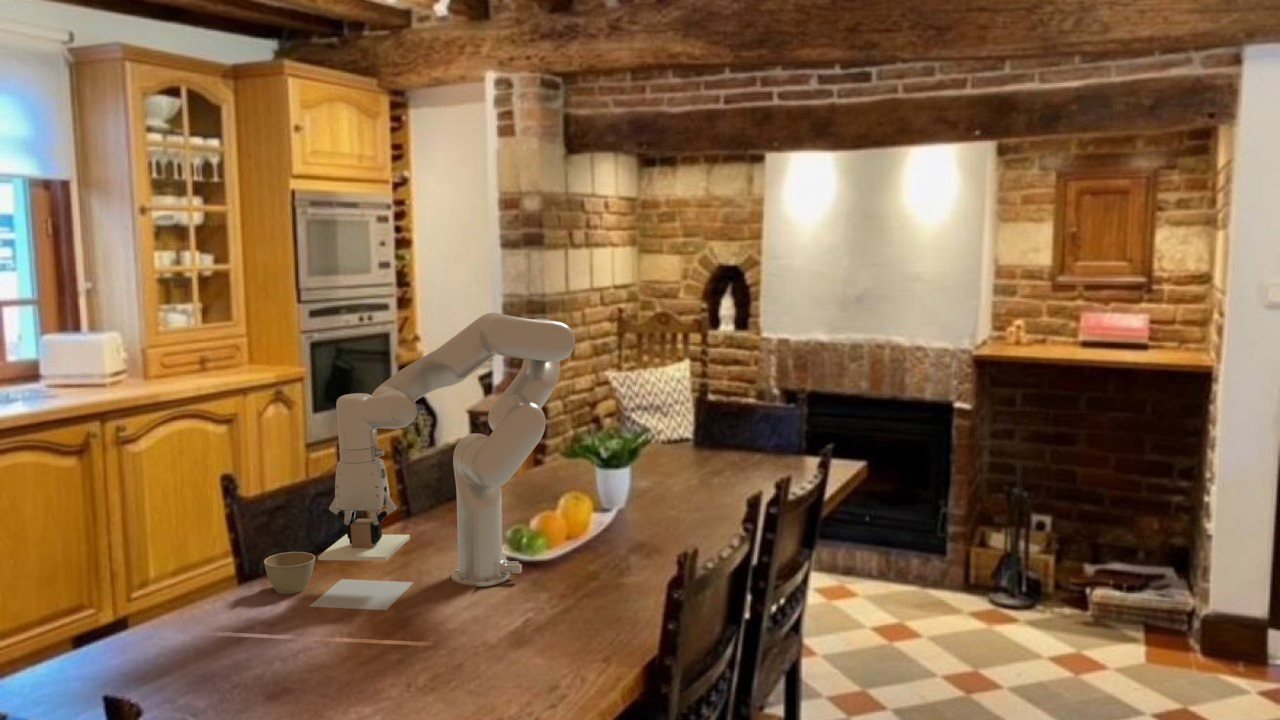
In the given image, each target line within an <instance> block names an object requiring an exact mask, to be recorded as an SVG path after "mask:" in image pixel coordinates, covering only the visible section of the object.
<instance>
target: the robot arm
mask: <svg viewBox="0 0 1280 720" xmlns="http://www.w3.org/2000/svg"><path fill="white" fill-rule="evenodd" d="M575 346H576V337H575V333H574V331H573V330H572V329H571V328H570V327H569V326H568V325H567V324H566V323H563V322H561V321H557V320H552V319H548V318H541V317H540V318H533V319H531V318H525V317H519V316H518V317H517V316H513V315H507V314H505V313H500V312H488V313H485V314H483V315H481V316H479V317H477V318H476V319H475V320H474V321H473V322H471V323H469V324H468V325H467V326H466V327H464V328H463V329H462V330H460V331H459V332H458V333H457V334H456V335H454V336H453V337H451V338H450V339H449V340H447V341H446V342H445V343H443V344H442V345H440V346H439V347H438V348H437V349H435V350H434V351H431V352H429V353H428V354H426V355H424V356H423V357H421V358H419V359H417V360H416V361H413V362H412V363H410V364H408V365H407V366H405V367H404V368H401V370H399V371H398V372H395V374H393V375H392V376H390V377H389V378H388V379H387V380H385V381H384V382H383V383H381V384H380V385H379V386H377V388H375V389H374V391H373V392H372V393H371V394H369V393H362V392H360V393H359V392H358V393H357V392H356V393H355V392H354V393H349V394H344V395H341V396H339V397H338V398H337V399H336V405H335V406H336V408H335V409H336V421H337V434H338V435H337V436H338V447H339V448H338V449H339V461H338V462H337V464H336V470H335V471H336V472H335V481H334V482H335V483H334V488H335V489H334V496H335V497H334V499H333V500H332V502H331V504H330V505H329V508H328V510H329V511H330V512H331V513H333V514H335V515H337V517H338V518H339V519H341V521H342V522H343V523H344V525H345V526H346V534H347V536H348V539H349V541H350V544H352V538H351V524H352V523H353V522H354V521H356V513H357V511H358V512H364V511H365V512H366V511H367V512H369V514H370V519H372V525H371V538H372V544H376V543H377V542H378V541H380V539H381V537H382V534H383V532H382V522H383V521H384V519H385V518H386V517H387V516H389V515H390V514H391V513H393V512H395V510H396V509H397V505H396V504H395V503H394V501H393V500H392V498H391V496H390V494H391V493H390V488H389V487H390V486H389V481H388V475H387V470H386V466H385V461H384V460H383V459H382V458H380V457H382V456H385V453H386V452H385V449H382V448H380V447H379V445H380V444H379V443H378V432H377V431H378V429H393V430H395V429H403V428H405V427H408V426H409V425H410V424H412V423H413V422H414V420H415V419H416V417H417V412H418V408H417V405H416V401H418V400H419V399H421V398H423V397H424V396H426V395H427V394H430V393H431V392H433V391H436V390H438V389H441V388H442V389H443V388H447V387H451V386H455V385H457V384H460V383H461V382H464V381H465V379H467V378H468V377H469V376H471V375H472V374H474V373H475V372H476V371H477V370H479V369H480V368H481V367H482V366H484V365H485V364H486V363H488V362H489V361H490V360H492V359H493V358H494V357H495V356H501V357H508V358H515V359H523V361H522V366H521V367H520V370H519V371H518V372H517V374H516V376H514V379H513V380H512V381H511V382H510V384H509V385H508V386H507V388H506V389H505V390H504V392H503V393H502V394H501V395H500V396H499V397H498V399H497V400H496V401H495V402H494V403H493V405H492V406H491V408H490V410H489V412H488V416H487V422H488V425H489V428H490V429H491V430H492V432H491V433H490V434H489V436H488V435H486V434H483V433H469V434H467V435H465V436H463V437H462V438H460V440H459V441H457V444H456V446H455V448H454V449H453V450H454V451H453V457H452V459H453V460H452V465H453V473H454V480H455V488H456V491H455V492H456V518H457V519H456V520H457V521H456V523H457V526H456V529H457V565H458V567H457V568H455V569H454V570H453V571H452V572H451V573H450V577H451V580H452V582H454V583H457V584H460V585H464V586H465V585H466V586H476V588H481V587H482V588H483V587H484V588H485V587H490V586H495V585H496V586H497V585H499V584H502V583H504V582H506V581H508V579H509V578H510V577H511V576H510V573H513V574H521V573H522V571H523V570H522V569H523V568H522V567H523V566H522V565H523V564H522V563H520V562H519V561H513V560H512V561H509V559H507V554H506V553H505V554H503V515H502V514H503V513H502V512H503V511H502V509H503V508H502V507H503V505H502V504H503V502H502V500H503V499H502V498H503V497H502V488H501V486H503V485H504V484H506V483H507V482H508V481H509V480H510V479H511V478H512V477H513V476H514V475H515V474H516V473H517V471H518V470H519V468H521V467H522V465H523V463H525V461H526V460H527V459H528V457H529V456H530V454H531V453H532V452H533V451H534V450H535V448H536V447H537V445H538V444H539V443H540V441H541V440H542V437H543V436H544V433H545V431H546V430H545V429H546V425H547V422H546V416H545V415H546V414H545V412H544V411H543V406H545V404H546V402H547V400H549V398H550V397H551V395H552V394H553V392H554V391H555V389H556V386H557V384H558V381H559V379H560V374H561V361H563V360H565V359H567V358H568V357H569V356H571V355H572V353H573V351H574V349H575ZM384 506H386V508H384ZM383 508H384V510H382V509H383Z"/></svg>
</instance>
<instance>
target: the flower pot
mask: <svg viewBox="0 0 1280 720" xmlns="http://www.w3.org/2000/svg"><path fill="white" fill-rule="evenodd" d="M315 561H316V556H315V555H314V554H312V553H309V552H305V551H289V552H281V553H277V554H273V555H270V556H268V557H266V558H264V561H263V565H264V569H265V572H266V576H267V578H268V580H269V582H270V583H271V586H272V587H273V589H274V591H275V592H276V593H277V594H280V595H293V594H297V593H298V594H299V593H301V592H303V591H304V590H305V589H306V587H307V585H308V584H309V582H310V579H311V577H312V574H313V571H314V566H315V563H316V562H315Z"/></svg>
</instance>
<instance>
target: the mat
mask: <svg viewBox="0 0 1280 720" xmlns="http://www.w3.org/2000/svg"><path fill="white" fill-rule="evenodd" d="M413 584H414V582H413V581H393V580H392V581H391V580H369V579H368V580H367V579H345V578H343V579H340V580H339V581H337V582H336V583H335V584H333V585H332V587H331V588H329V589H328V590H326V591H325V592H324V593H323V594H322V595H321V596H320V597H318V598H317V599H316V600H315V601H314V602H312V603H311V604H310V605H308V606H309V608H331V609H332V608H333V609H349V610H350V609H351V610H352V609H354V610H373V611H375V610H376V611H378V610H379V611H387V610H388V609H389V608H390V607H392V605H393V604H394V603H395V602H396V601H397V600H398V599H400V597H401V596H402V595H403V594H405V592H406V591H407V590H408V589H409V587H411V586H412V585H413Z"/></svg>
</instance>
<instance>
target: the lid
mask: <svg viewBox="0 0 1280 720" xmlns="http://www.w3.org/2000/svg"><path fill="white" fill-rule="evenodd" d="M371 525H372V518H357V519H355V521H354V522H353V523H352V524H351V538H352V544H350V541H349V539H348V536H347V533H345V535H343V536H342V537H341V538H339V539H338V540H337V541H335V543H333V544H331V546H329V547H328V548H327V549H325V550H324V551H323V552H321V553H320V554H319V555H318V557H317V559H318V561H362V562H363V561H367V562H368V561H369V562H370V561H371V562H372V561H373V562H375V561H376V562H377V561H379V562H381V561H382V562H385V561H388V560H389V559H390V558H391V557H392V556H394V554H395V553H397V551H398V550H399V549H401V548H402V546H403V545H405V543H407V542H408V541H409V540H410V539H411V535H410V534H386V533H385V534H383V533H382V537H381V539H380V541H378V542H377V543H376V544H372V538H371Z"/></svg>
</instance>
